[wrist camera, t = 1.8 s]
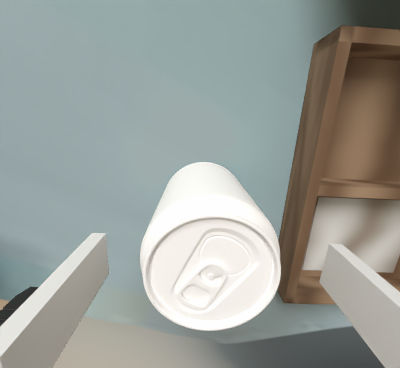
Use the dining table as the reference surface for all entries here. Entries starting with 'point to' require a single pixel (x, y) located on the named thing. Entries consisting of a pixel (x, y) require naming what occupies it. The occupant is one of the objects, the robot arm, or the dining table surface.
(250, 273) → the beverage can
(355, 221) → the tray
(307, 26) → the dining table surface
